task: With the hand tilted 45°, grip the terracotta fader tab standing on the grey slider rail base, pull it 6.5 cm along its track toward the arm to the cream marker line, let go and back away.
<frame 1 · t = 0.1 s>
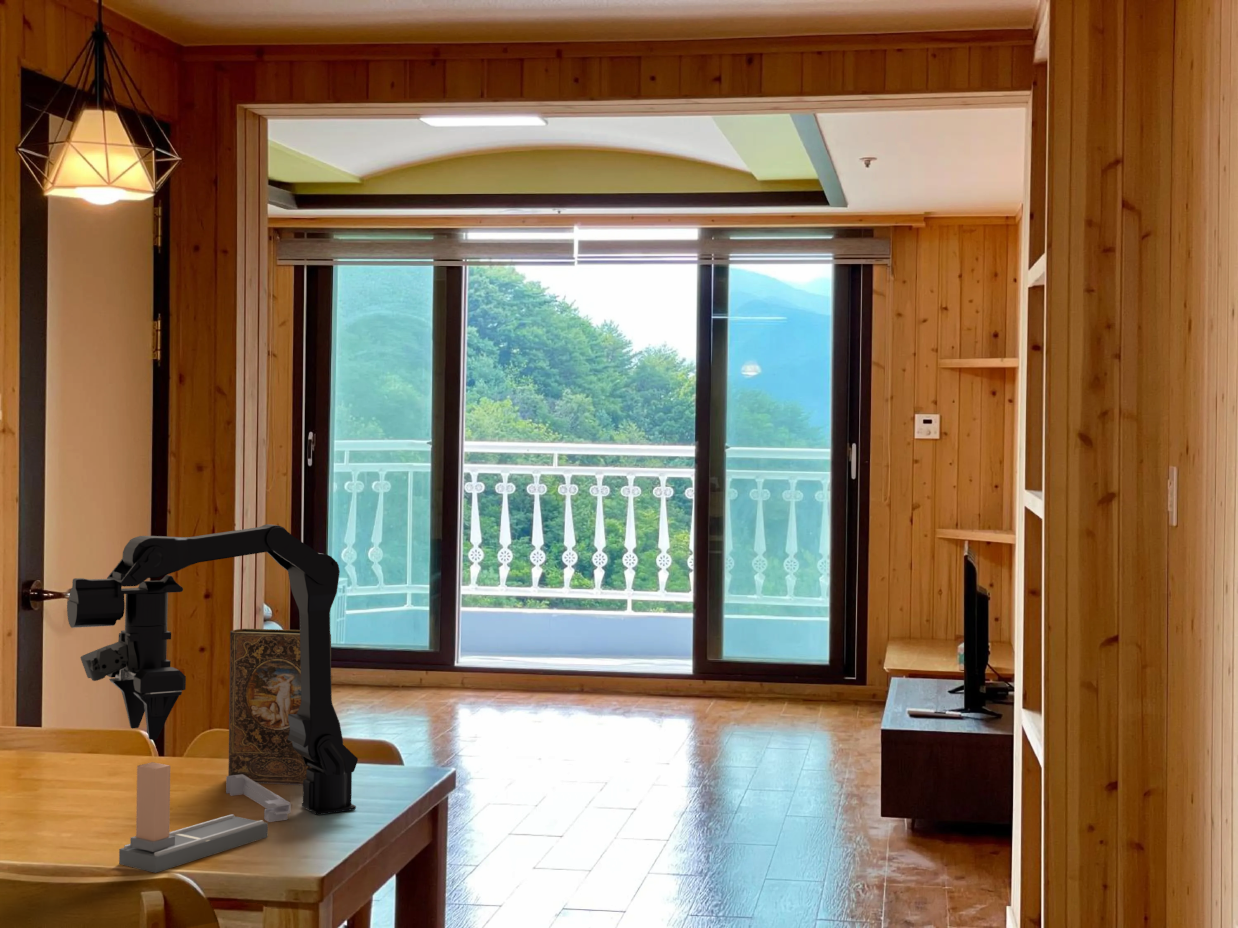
hand: (143, 733, 192), 15 cm above the table, tool pointing down, fingers open, 9 cm apart
grey slider rail base: (196, 849, 186), on the table
door handle: (256, 809, 209), on the table
fader: (153, 805, 179), point 8 cm above the table, slide at 0.0 cm
book: (277, 781, 227), on the table
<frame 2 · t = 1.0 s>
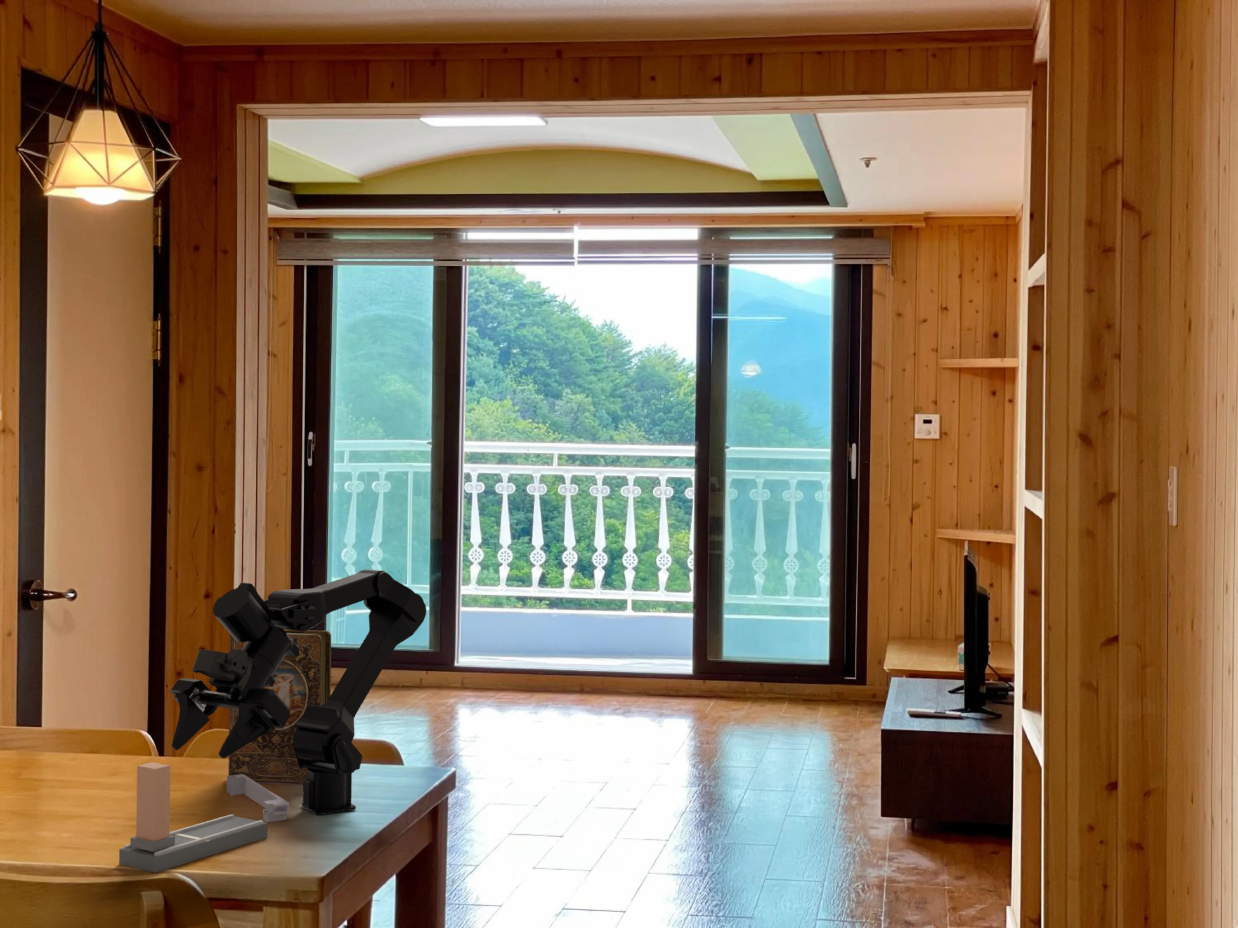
hand: (197, 752, 186), 13 cm above the table, tool tilted 45°, fingers open, 9 cm apart
nothing on the table moved.
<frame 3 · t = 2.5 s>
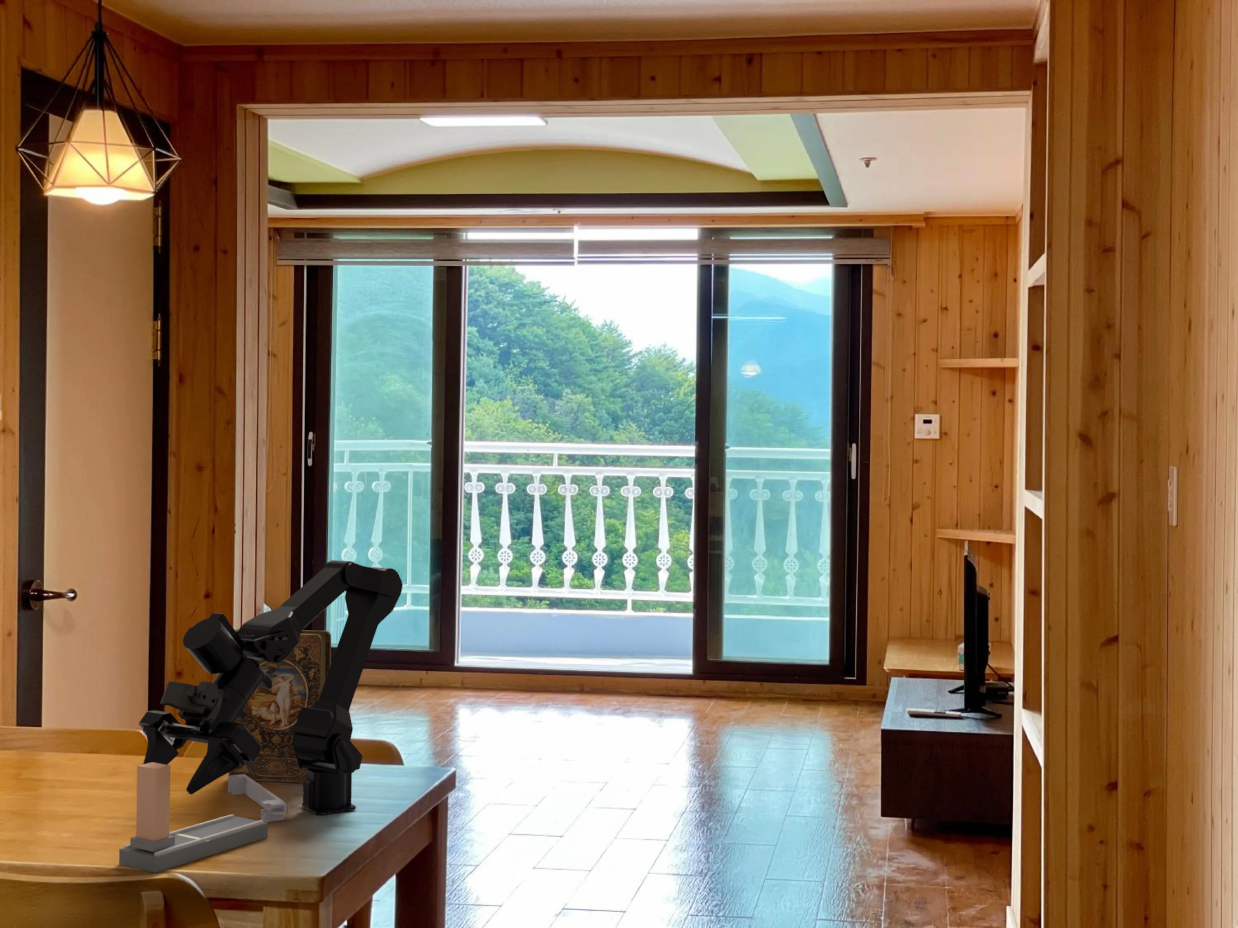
hand: (164, 787, 181), 10 cm above the table, tool tilted 45°, fingers open, 9 cm apart
nothing on the table moved.
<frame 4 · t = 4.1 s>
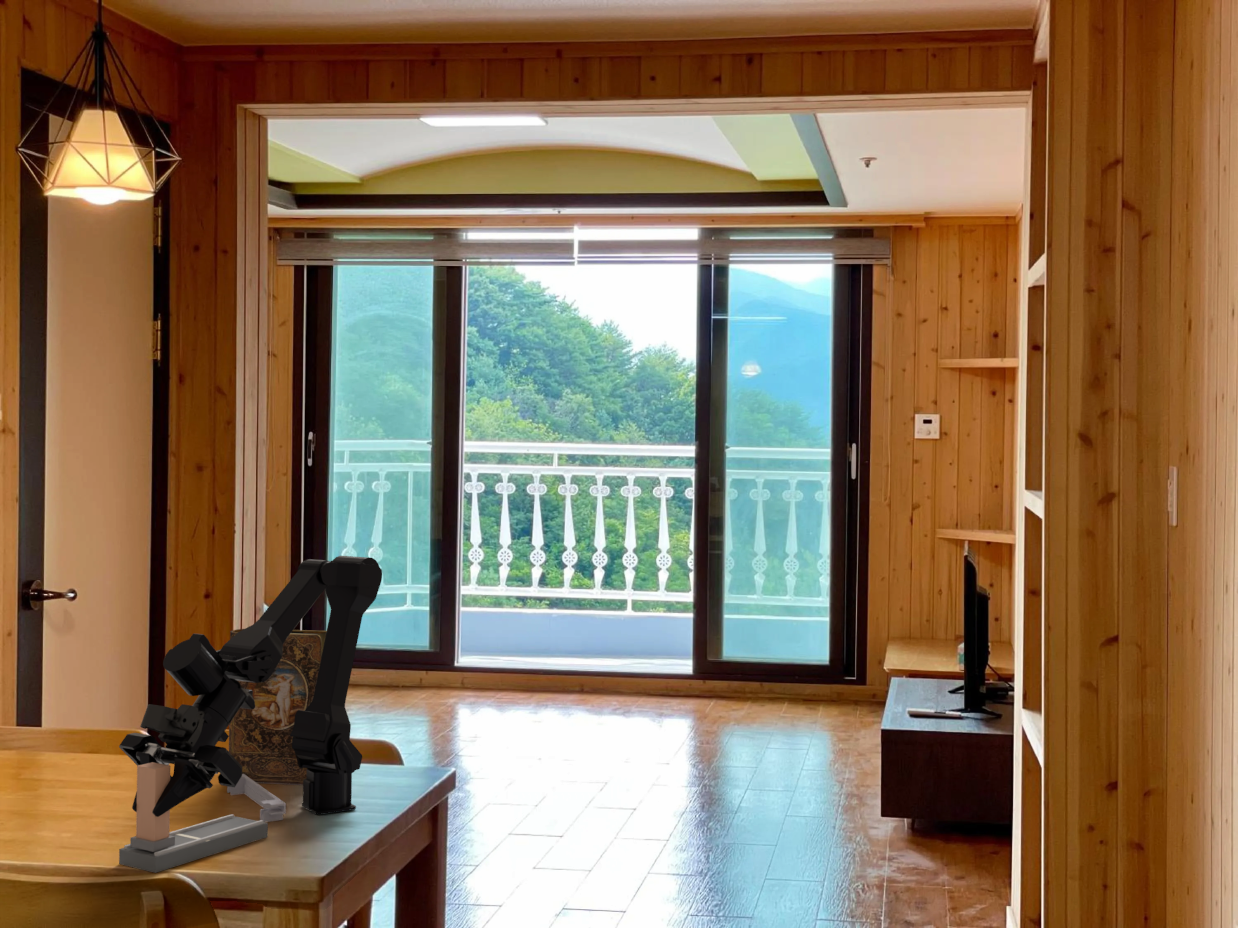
hand: (144, 812, 178), 7 cm above the table, tool tilted 45°, fingers closed on fader, 3 cm apart
fader: (153, 805, 179), point 8 cm above the table, slide at 0.0 cm, touching gripper
everything else where it was.
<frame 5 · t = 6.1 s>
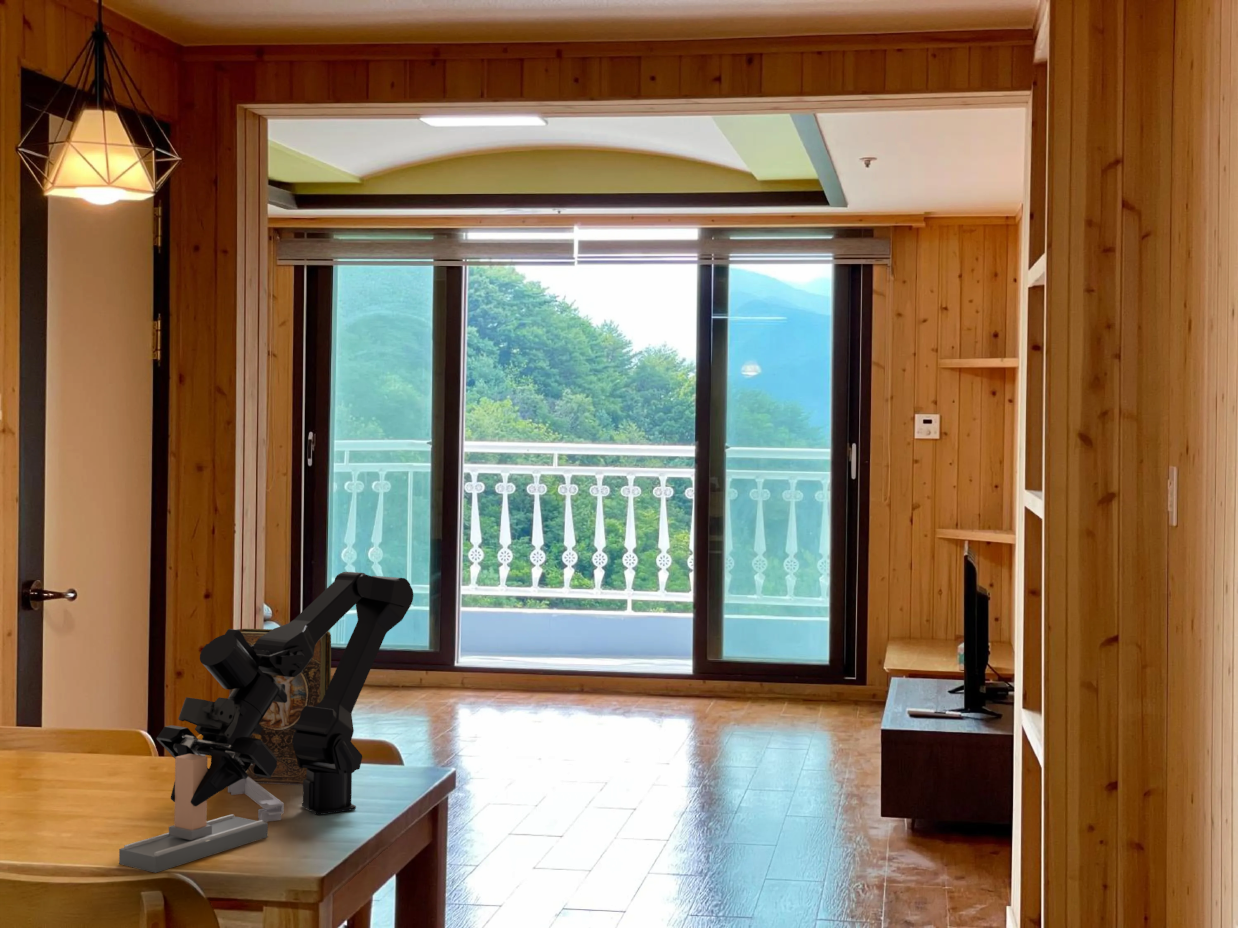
hand: (182, 802, 184), 7 cm above the table, tool tilted 45°, fingers closed on fader, 3 cm apart
fader: (190, 795, 185), point 8 cm above the table, slide at 6.4 cm, touching gripper
everything else where it was.
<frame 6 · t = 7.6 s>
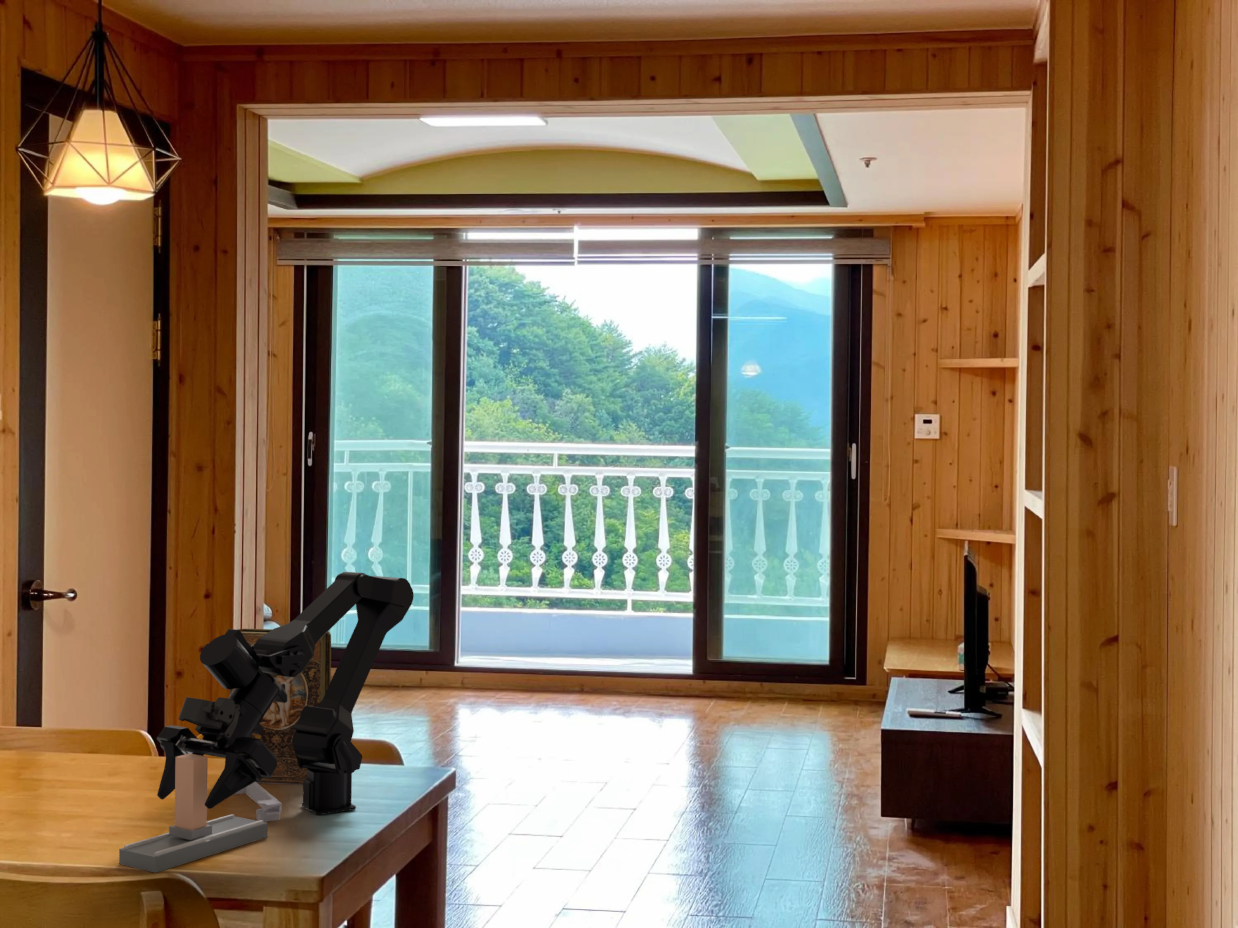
hand: (183, 802, 184), 7 cm above the table, tool tilted 45°, fingers open, 9 cm apart
fader: (191, 795, 185), point 8 cm above the table, slide at 6.5 cm
everything else where it was.
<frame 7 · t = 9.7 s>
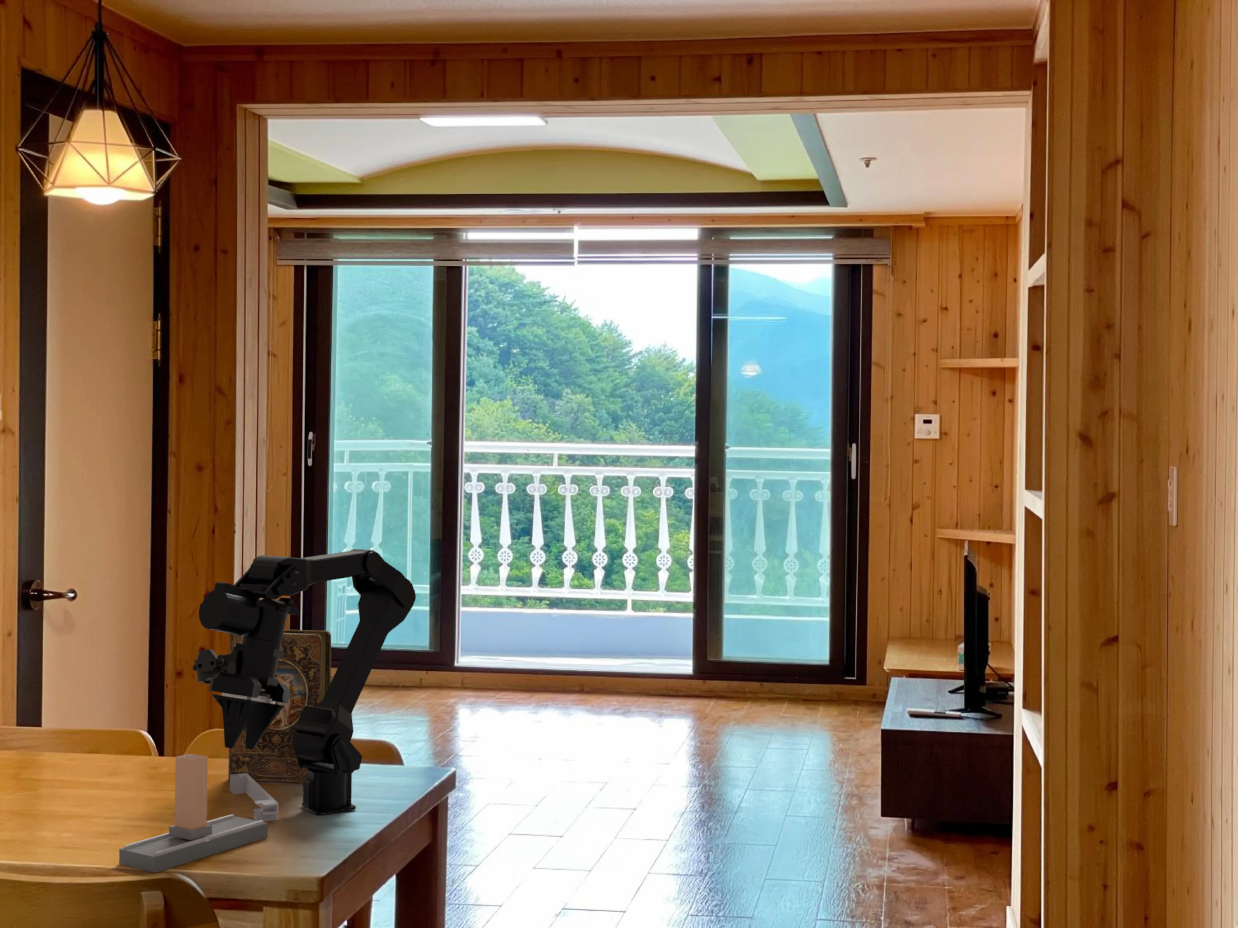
hand: (239, 748, 193), 12 cm above the table, tool pointing down, fingers open, 9 cm apart
nothing on the table moved.
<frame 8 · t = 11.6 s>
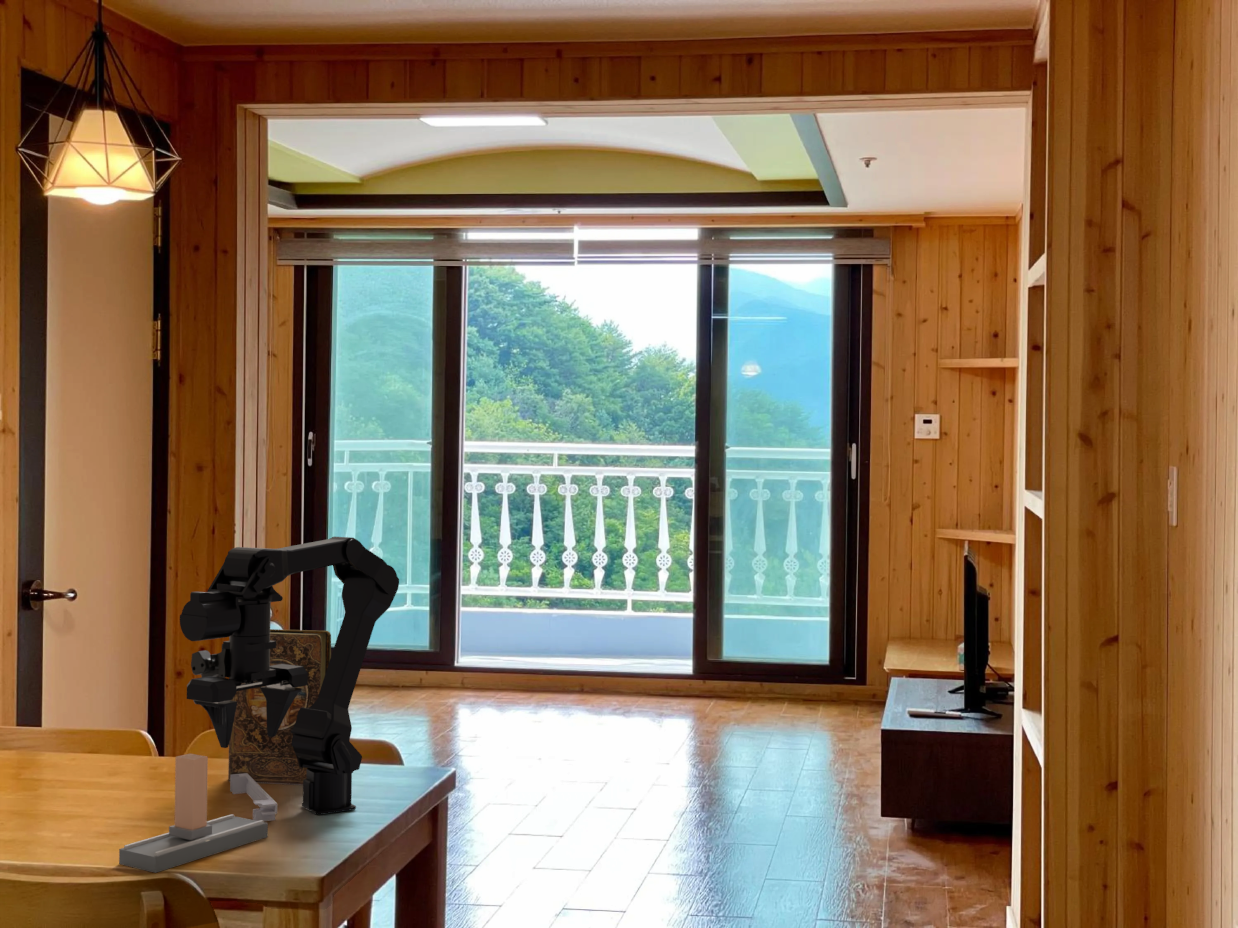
hand: (248, 741, 195), 13 cm above the table, tool pointing down, fingers open, 9 cm apart
nothing on the table moved.
at the end: fader slide at 6.5 cm; the gripper is holding nothing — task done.
